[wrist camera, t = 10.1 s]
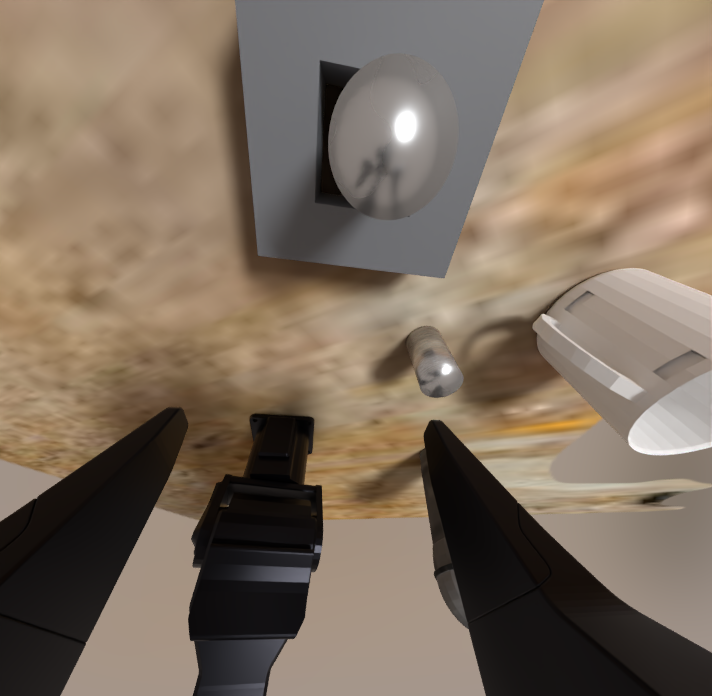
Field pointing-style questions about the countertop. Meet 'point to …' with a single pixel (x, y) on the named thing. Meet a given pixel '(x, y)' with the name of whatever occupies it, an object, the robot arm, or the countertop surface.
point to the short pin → (433, 362)
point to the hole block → (336, 67)
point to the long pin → (393, 136)
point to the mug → (637, 356)
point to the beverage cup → (441, 550)
